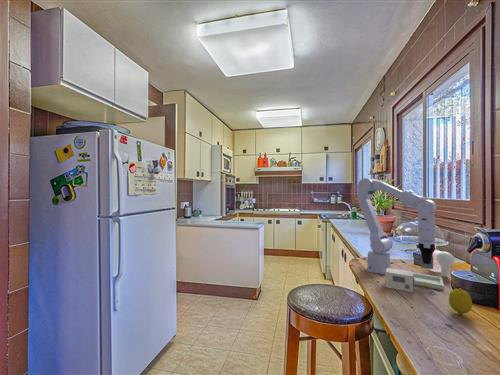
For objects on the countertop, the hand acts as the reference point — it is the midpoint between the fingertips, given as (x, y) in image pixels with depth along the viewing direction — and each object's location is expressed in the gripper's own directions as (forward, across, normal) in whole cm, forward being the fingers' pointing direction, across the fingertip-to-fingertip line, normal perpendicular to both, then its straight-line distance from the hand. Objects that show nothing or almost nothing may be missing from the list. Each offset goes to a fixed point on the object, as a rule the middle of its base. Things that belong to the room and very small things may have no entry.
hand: (426, 262), depth 102 cm
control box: (+8, -11, +9) cm, 17 cm away
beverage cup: (+9, +21, -4) cm, 23 cm away
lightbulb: (+9, +13, -7) cm, 17 cm away
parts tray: (+8, 0, 0) cm, 8 cm away
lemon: (+9, -25, -8) cm, 28 cm away
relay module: (+2, 0, 0) cm, 2 cm away
